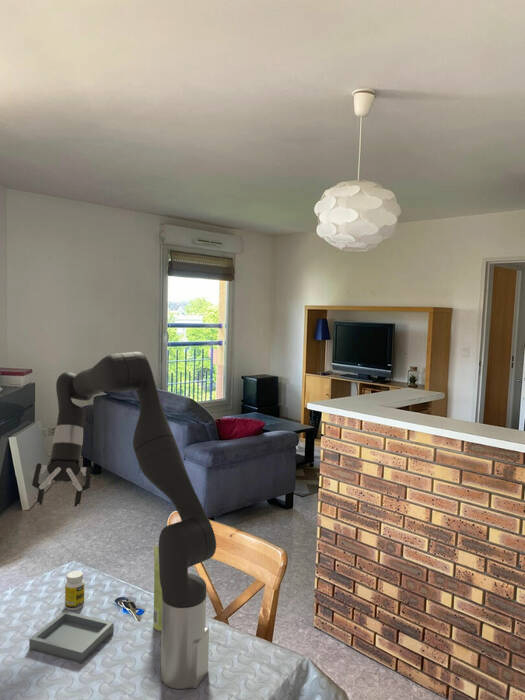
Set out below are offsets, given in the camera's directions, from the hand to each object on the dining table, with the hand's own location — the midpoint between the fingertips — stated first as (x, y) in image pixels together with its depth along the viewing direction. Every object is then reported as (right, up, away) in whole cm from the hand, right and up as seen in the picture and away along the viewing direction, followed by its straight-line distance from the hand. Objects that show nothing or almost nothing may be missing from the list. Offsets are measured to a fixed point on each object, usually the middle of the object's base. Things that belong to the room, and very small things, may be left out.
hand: (58, 505), depth 138 cm
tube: (+29, -27, -8) cm, 41 cm away
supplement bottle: (+4, -26, 0) cm, 26 cm away
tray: (+9, -27, -15) cm, 32 cm away
